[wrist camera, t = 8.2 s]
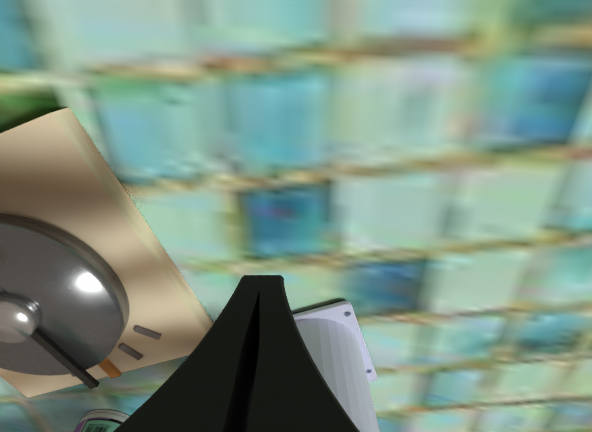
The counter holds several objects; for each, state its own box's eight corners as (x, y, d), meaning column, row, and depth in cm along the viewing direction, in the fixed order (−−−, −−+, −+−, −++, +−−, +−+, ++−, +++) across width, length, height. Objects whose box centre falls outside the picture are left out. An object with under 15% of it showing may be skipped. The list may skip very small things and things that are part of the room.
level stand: (219, 332, 25) (215, 350, 24) (40, 380, 28) (25, 400, 26) (69, 107, 17) (47, 113, 15) (-168, 205, 19) (-208, 219, 18)
